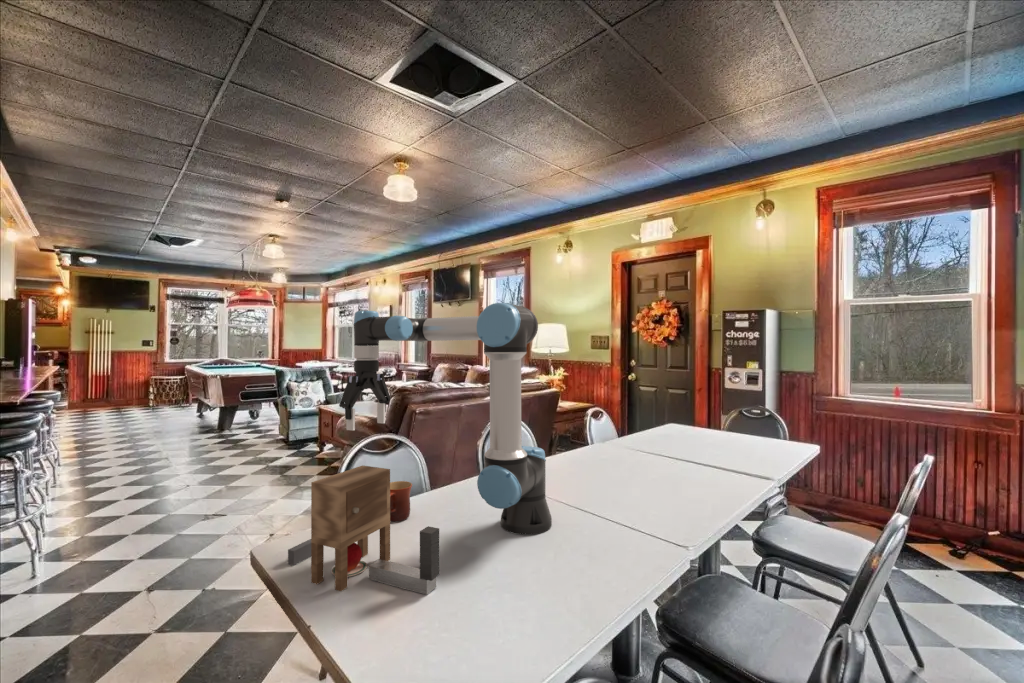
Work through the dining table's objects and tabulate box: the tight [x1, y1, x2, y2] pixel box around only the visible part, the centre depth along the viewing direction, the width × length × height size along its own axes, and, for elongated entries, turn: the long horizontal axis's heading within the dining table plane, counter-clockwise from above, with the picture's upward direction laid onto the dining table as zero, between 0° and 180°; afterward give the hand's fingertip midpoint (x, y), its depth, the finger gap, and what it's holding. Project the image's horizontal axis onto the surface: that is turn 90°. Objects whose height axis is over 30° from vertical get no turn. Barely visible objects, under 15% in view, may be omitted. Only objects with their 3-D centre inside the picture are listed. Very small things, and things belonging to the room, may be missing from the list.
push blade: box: [368, 526, 440, 596], centre depth 100 cm, size 17×4×13 cm, turn 65°
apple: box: [331, 542, 368, 578], centre depth 106 cm, size 8×8×6 cm
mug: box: [390, 480, 413, 523], centre depth 137 cm, size 12×9×10 cm
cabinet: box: [310, 464, 391, 592], centre depth 106 cm, size 10×16×22 cm, turn 155°
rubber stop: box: [287, 538, 311, 567], centre depth 113 cm, size 2×8×4 cm, turn 155°
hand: (366, 426), depth 142 cm, fingers open, 13 cm apart
